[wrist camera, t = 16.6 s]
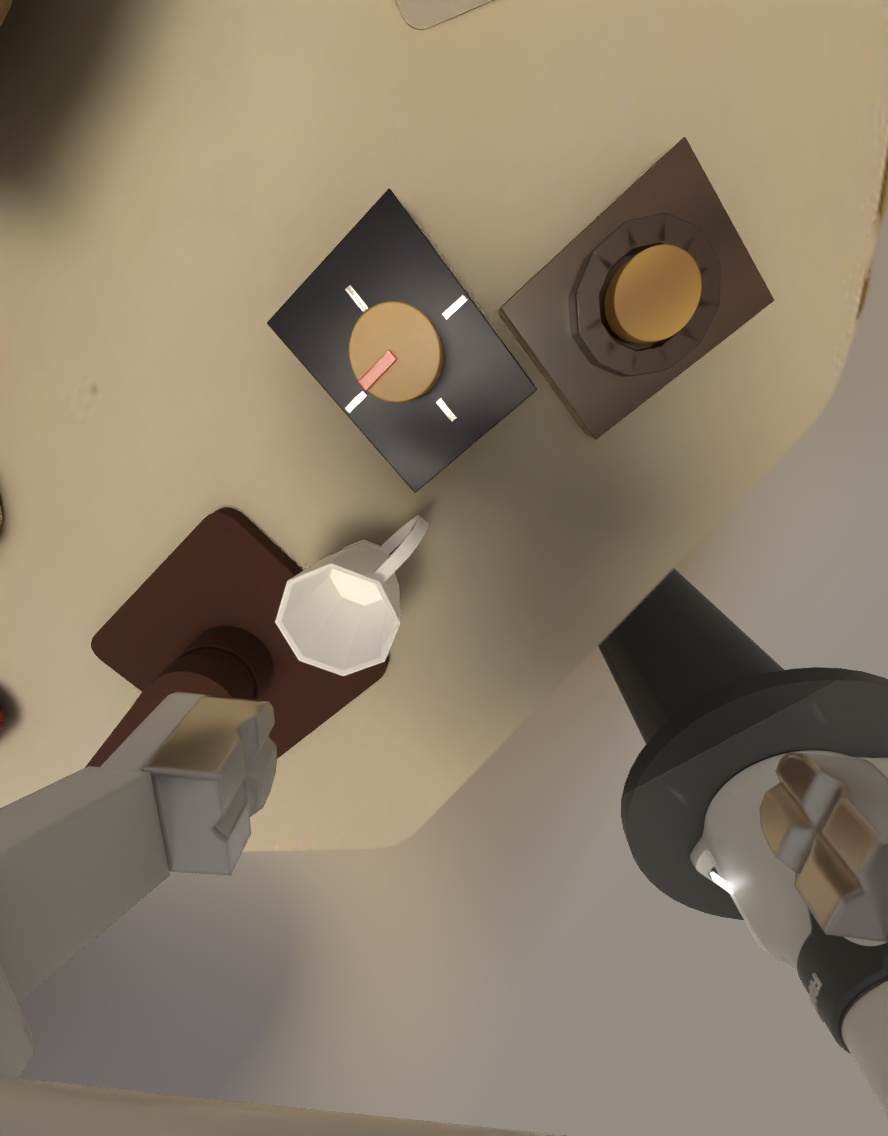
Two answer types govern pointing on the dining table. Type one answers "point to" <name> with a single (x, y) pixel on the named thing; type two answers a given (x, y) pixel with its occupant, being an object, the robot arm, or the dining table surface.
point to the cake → (0, 517)
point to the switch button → (653, 294)
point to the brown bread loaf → (4, 9)
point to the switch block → (584, 270)
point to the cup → (348, 603)
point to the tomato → (1, 719)
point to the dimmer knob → (395, 352)
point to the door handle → (220, 635)
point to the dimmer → (471, 347)
